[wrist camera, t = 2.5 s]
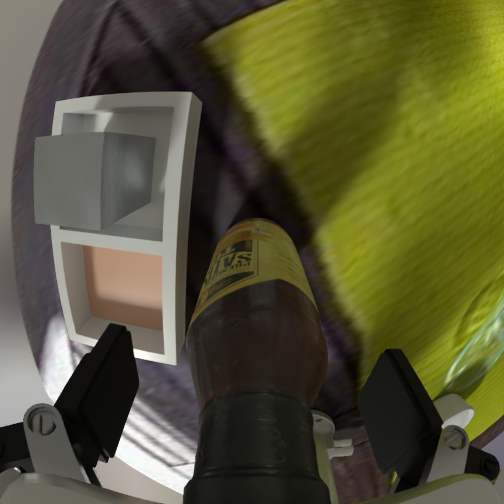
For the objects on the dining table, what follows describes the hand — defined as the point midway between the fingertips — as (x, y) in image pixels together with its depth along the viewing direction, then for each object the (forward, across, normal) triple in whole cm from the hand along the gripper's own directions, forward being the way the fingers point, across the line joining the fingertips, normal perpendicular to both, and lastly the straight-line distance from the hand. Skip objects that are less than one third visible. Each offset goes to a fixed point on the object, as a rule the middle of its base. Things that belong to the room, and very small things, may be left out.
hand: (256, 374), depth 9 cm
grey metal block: (+13, +11, -5) cm, 18 cm away
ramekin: (+14, -34, +25) cm, 45 cm away
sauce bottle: (+14, 0, +1) cm, 14 cm away
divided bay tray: (+14, +11, 0) cm, 18 cm away
